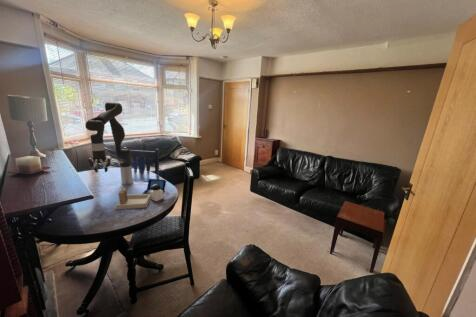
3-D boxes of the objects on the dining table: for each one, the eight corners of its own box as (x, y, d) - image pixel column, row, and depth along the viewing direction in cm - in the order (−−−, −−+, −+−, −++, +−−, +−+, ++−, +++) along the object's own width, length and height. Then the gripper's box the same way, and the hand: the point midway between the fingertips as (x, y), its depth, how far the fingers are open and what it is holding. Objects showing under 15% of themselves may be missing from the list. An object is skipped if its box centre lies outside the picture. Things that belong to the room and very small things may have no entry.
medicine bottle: (163, 198, 165) (162, 184, 162) (156, 201, 159) (155, 187, 156) (157, 196, 168) (156, 182, 165) (150, 199, 162) (149, 185, 159)
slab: (123, 200, 157) (122, 188, 154) (127, 200, 158) (126, 188, 155) (120, 205, 150) (118, 193, 147) (124, 205, 150) (123, 192, 148)
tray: (123, 198, 161) (123, 194, 160) (150, 197, 166) (150, 193, 165) (115, 209, 145) (115, 205, 144) (146, 207, 150) (146, 203, 149)
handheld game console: (142, 194, 170) (141, 184, 167) (149, 188, 183) (148, 178, 180) (160, 195, 170) (160, 185, 167) (166, 189, 182) (166, 179, 180)
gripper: (111, 148, 146) (114, 170, 150) (89, 148, 143) (92, 170, 147) (107, 150, 139) (110, 173, 143) (84, 150, 136) (87, 174, 140)
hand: (101, 171), depth 145 cm, fingers open, 5 cm apart
